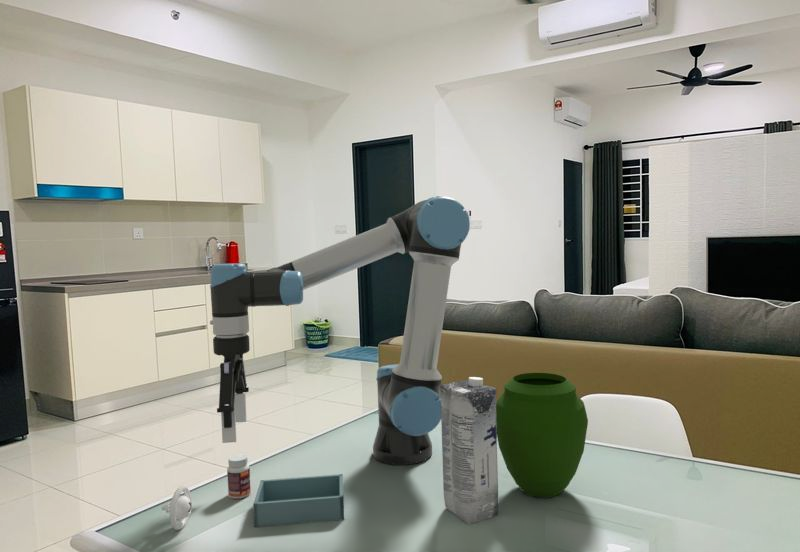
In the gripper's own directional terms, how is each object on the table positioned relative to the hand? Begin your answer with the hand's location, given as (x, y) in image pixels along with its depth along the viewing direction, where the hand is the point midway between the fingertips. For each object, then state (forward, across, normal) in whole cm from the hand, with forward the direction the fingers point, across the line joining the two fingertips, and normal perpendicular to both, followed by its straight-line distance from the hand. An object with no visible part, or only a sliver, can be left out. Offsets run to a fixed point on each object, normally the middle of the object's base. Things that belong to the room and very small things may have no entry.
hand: (235, 431), depth 128 cm
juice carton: (+14, +17, +48) cm, 53 cm away
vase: (+14, +10, +65) cm, 68 cm away
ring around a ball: (+15, +13, -10) cm, 22 cm away
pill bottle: (+14, 0, 0) cm, 14 cm away
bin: (+14, +10, +14) cm, 22 cm away
